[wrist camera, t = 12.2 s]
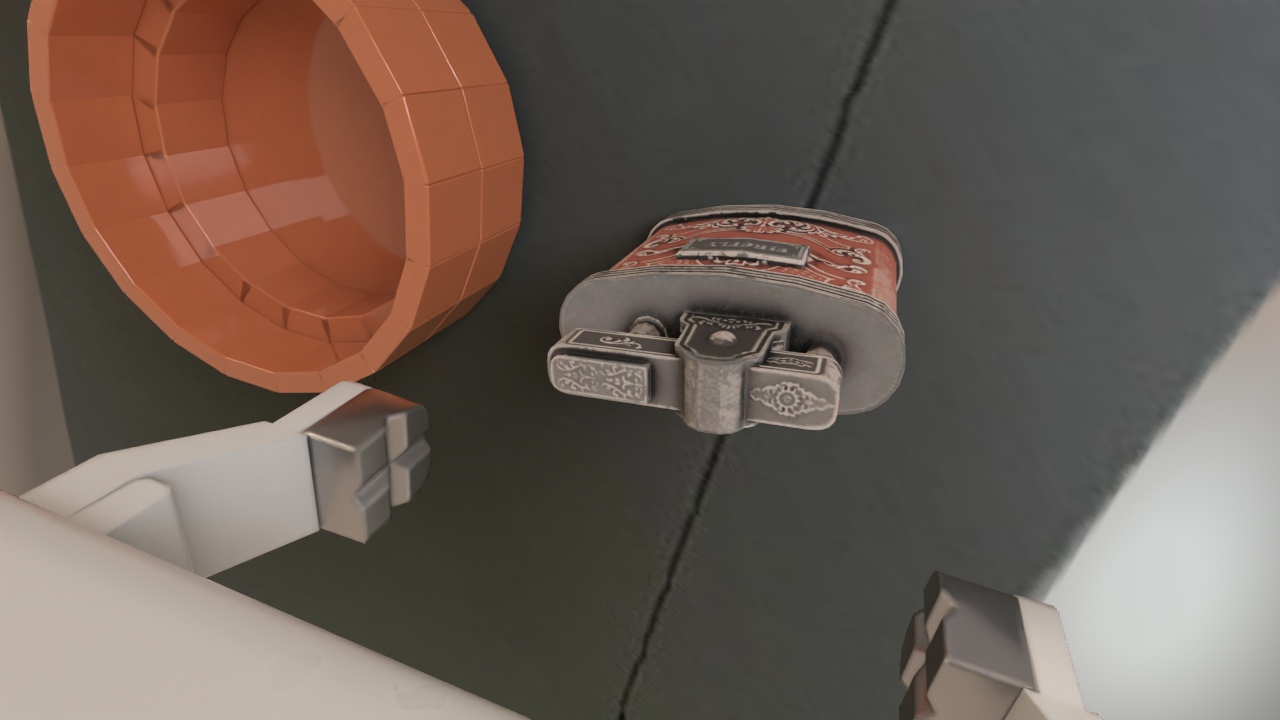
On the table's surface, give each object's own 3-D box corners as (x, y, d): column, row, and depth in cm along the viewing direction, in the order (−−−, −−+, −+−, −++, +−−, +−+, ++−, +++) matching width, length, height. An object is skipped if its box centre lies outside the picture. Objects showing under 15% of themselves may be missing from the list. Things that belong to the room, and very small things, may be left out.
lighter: (910, 211, 20) (922, 338, 11) (894, 318, 21) (894, 502, 13) (651, 198, 22) (501, 295, 14) (652, 295, 24) (516, 436, 15)
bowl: (543, -54, 20) (425, -86, 15) (519, 368, 27) (432, 445, 22) (166, -105, 24) (-35, -145, 19) (228, 282, 30) (94, 331, 25)
